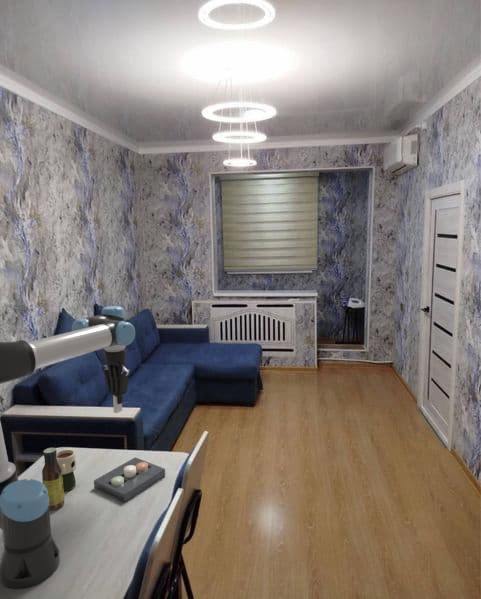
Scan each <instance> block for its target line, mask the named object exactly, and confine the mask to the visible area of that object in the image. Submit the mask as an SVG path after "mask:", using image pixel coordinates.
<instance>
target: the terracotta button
mask: <svg viewBox="0 0 481 599" xmlns="http://www.w3.org/2000/svg"><path fill="white" fill-rule="evenodd" d="M146 462H147V461H146ZM146 462H140V463H138V464H137V465H136V470H138V471H140V472H143V471H145V470H147V469H148V463H146Z"/></svg>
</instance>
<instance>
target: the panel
mask: <svg viewBox="0 0 481 599" xmlns="http://www.w3.org/2000/svg"><path fill="white" fill-rule="evenodd" d="M140 462H146V463H148V469H147V470H145V471H143V472H140V471H138V470H136V476H135V477H133V478H132V479H130V480H129V479H127V478H125V477H124V468H125V467H126V466H129V465H134V466H136V465H137V464H138V463H140ZM117 476H121V477H123V478H124V484H122V485H120V486H119V487H115V486H112V485H111V479H112V478H114V477H117ZM165 477H166V468H164V467H162V466H158V465H156V464H154V463H151V462H148V461H146V460H143V459H140V458H138V457H135V456H134V457H133V458H131V459H130V460H128V461H125V462H124V463H122V464H121V465H119V466H117V467H115V468H114V469H111V470H110V471H109V472H106V473H105V474H103V475H101V476H99V477H97V478H96V479H94V480H93V485H94V486H93V488H94V489H95V490H97V491H100V492H101V493H104V494H106V495H107V496H110V497H112V498H115V499H116V500H118V501H121V502H123V503H126V502H128V501H130V500H132V498H134V497H136V496H137V495H139V494H140V493H142V492H144V491H145V490H146V489H148V488H150V487H151V486H152V485H154V484H155V483H157V482H159V481H160V480H161V479H163V478H165Z"/></svg>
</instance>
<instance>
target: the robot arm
mask: <svg viewBox="0 0 481 599" xmlns="http://www.w3.org/2000/svg"><path fill="white" fill-rule="evenodd" d="M135 338H136V329H135V326H134V325H133V324H132V323H131V322H127V321H125V312H124V308H123V307H121V306H118V305H110V306H104V307H103V308H102V310H101V314H98V315H92V316H88V317H87V316H86V317H81V318H79V319H75V320H74V321H73V322H72V325H71V331H69V332H64V333H63V332H62V333H59V334H56V335H51V336H48V337H43V338H40V339H35V340H31V341H28V340H25V339H20V340H16V341H0V385H1V384H6V383H8V382H12V381H16V380H20V379H23V378H25V377H28V376H32V375H33V374H35V372H36V370H39V369H41V368H44V367H47V366H51V365H54V364H57V363H61V362H64V361H68V360H70V359H73V358H76V357H80V356H83V355H86V354H90V353H92V352H96V351H99V350H104V351H103V352H104V353H103V355H104V362H106V364H105V365H102V366H101V369H102V371H103V374H104V379H105V384H106V390H107V393H110V394H111V397H112V398H111V400H112V404H113V413H116V414H118V413H120V412H122V411H123V402H124V401H123V396H124V395H126V394H127V392H128V385H129V376H130V374H131V369H127V368H126V364H125V360H126V359H127V350H126V346H129V345H131V344H132V343H133V342H134V340H135ZM5 443H6V442H5V437H4V432H3V426H2V422H1V421H0V529H1V531H2V539H3V547H4V548H3V552H2V555H1V561H0V583H1V584H2V585H3V586H4V587H7V588H9V589H25V588H29V587H32V586H35V585H38V584H40V583H41V582H43V581H45V580H46V579H48V578H50V576H52V574H54V572H55V571H56V570H57V569H58V567H59V565H60V562H61V558H60V557H61V556H60V550H59V547H58V545H57V543H56V541H55V539H54V537H53V536H52V531H51V529H52V528H51V516H50V515H51V514H50V510H49V497H48V492H47V488H46V486H45V485H44V484H43V481H42V482H41V481H40V480H37V479H33V478H31V479H29V480H28V479H27V478H25V479H24V478H23V479H20V480H19V477H18V472H17V469H16V468H17V467H16V465H15V464H14V463H13V462H10V461H9V457H8V454H7V453H8V452H7V449H6V444H5Z"/></svg>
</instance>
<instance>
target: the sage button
mask: <svg viewBox="0 0 481 599" xmlns="http://www.w3.org/2000/svg"><path fill="white" fill-rule="evenodd" d="M122 484H124V478H123V477H121V476H117V477H114V478H112V479H111V485H112V486H115V487H119V486H120V485H122Z"/></svg>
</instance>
